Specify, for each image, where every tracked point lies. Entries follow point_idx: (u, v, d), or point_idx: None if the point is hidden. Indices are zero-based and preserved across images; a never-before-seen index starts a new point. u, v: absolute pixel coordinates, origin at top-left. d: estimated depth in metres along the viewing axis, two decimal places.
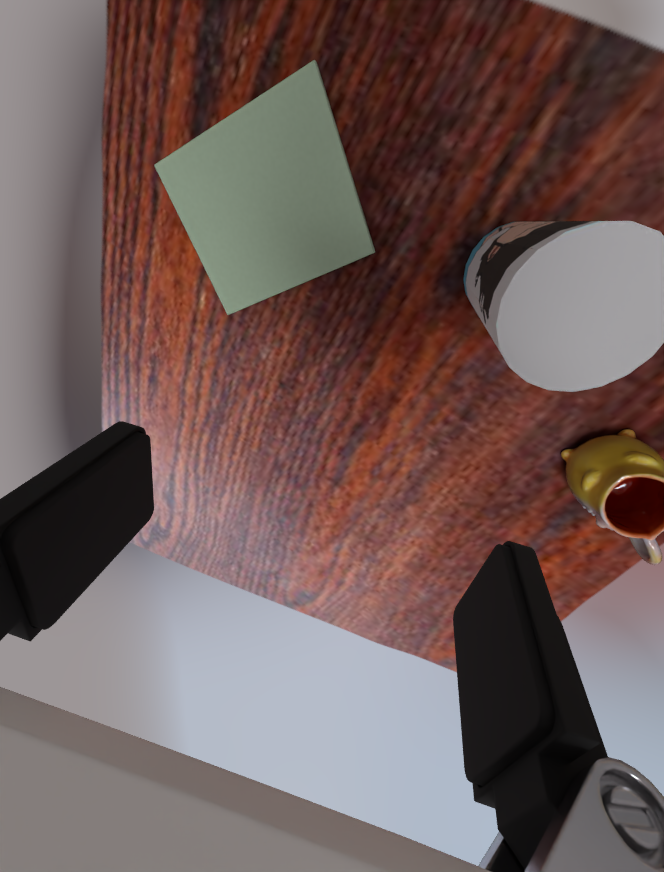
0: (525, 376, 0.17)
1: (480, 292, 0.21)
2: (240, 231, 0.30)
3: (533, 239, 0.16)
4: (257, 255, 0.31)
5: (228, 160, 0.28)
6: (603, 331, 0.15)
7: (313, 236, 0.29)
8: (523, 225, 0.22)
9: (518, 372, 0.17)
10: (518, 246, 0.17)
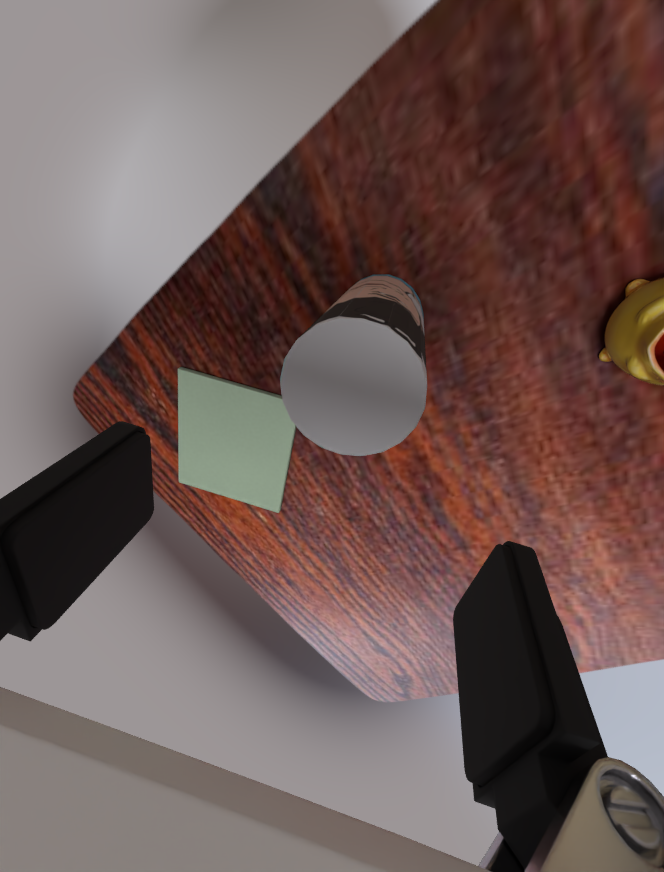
0: (377, 450, 0.18)
1: None
2: (236, 468, 0.40)
3: None
4: (255, 469, 0.39)
5: (197, 445, 0.39)
6: (373, 387, 0.17)
7: (265, 432, 0.37)
8: None
9: (370, 452, 0.18)
10: None
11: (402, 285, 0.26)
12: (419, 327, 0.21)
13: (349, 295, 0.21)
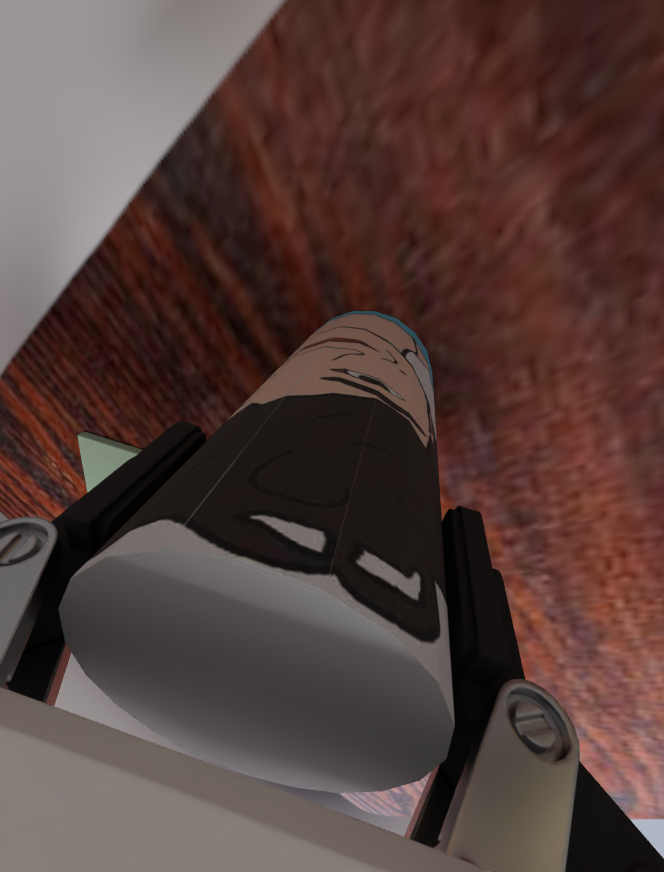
0: (324, 788, 0.07)
1: None
2: None
3: None
4: None
5: None
6: (300, 698, 0.06)
7: None
8: None
9: (309, 787, 0.08)
10: None
11: (397, 334, 0.15)
12: (428, 449, 0.10)
13: (288, 374, 0.11)
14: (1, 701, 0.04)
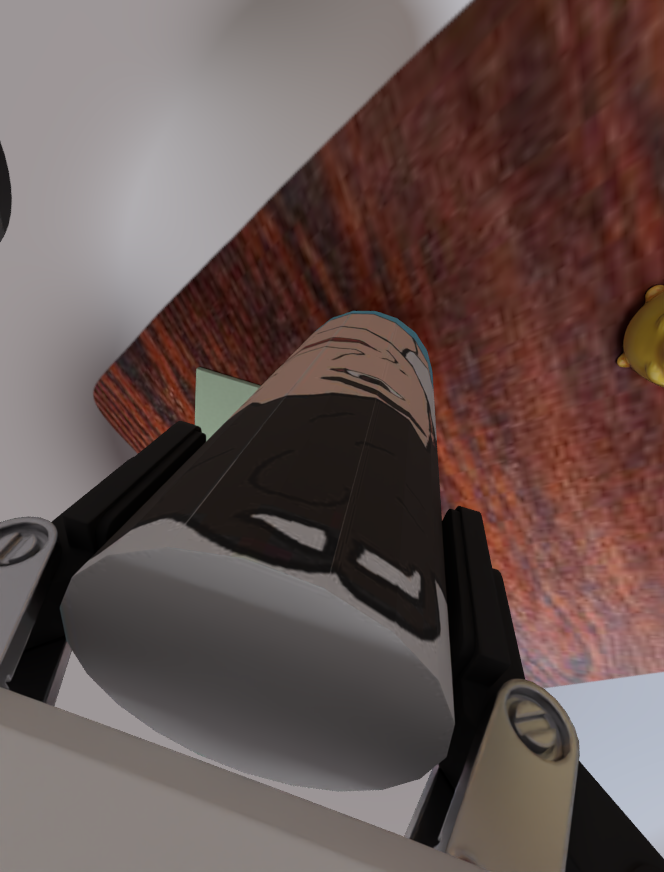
0: (325, 786, 0.07)
1: None
2: None
3: None
4: None
5: None
6: (301, 696, 0.06)
7: None
8: None
9: (310, 785, 0.08)
10: None
11: (398, 334, 0.15)
12: (428, 449, 0.10)
13: (288, 374, 0.11)
14: (1, 701, 0.04)
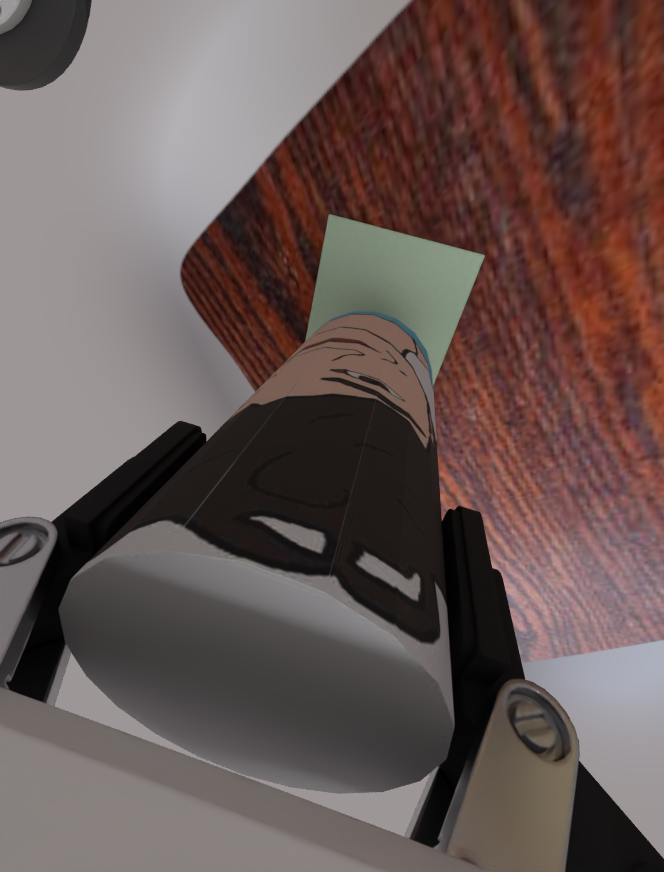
0: (324, 788, 0.07)
1: None
2: None
3: None
4: None
5: None
6: (300, 699, 0.06)
7: (428, 301, 0.30)
8: None
9: (309, 787, 0.08)
10: None
11: (397, 335, 0.15)
12: (428, 450, 0.10)
13: (288, 375, 0.11)
14: (1, 701, 0.04)
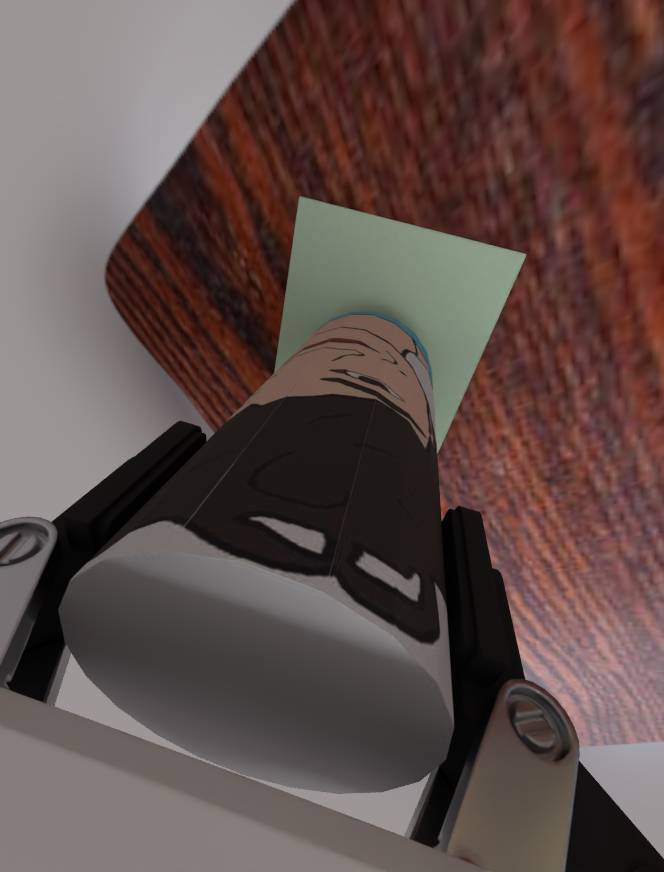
0: (324, 788, 0.07)
1: None
2: None
3: None
4: None
5: None
6: (300, 699, 0.06)
7: (442, 320, 0.21)
8: None
9: (309, 787, 0.08)
10: None
11: (397, 335, 0.15)
12: (428, 450, 0.10)
13: (288, 375, 0.11)
14: (1, 701, 0.04)
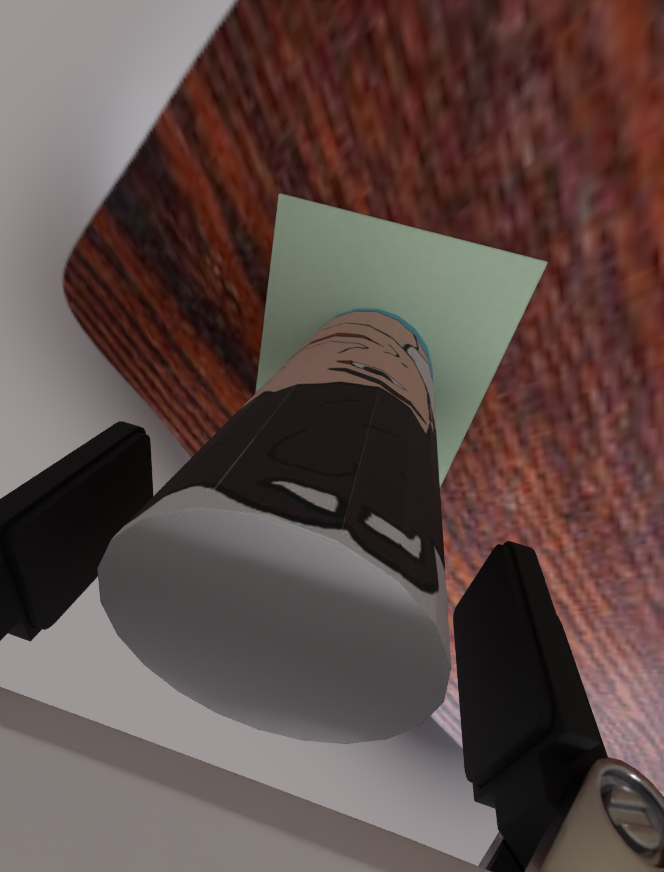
0: (333, 739, 0.08)
1: None
2: None
3: None
4: None
5: None
6: (313, 647, 0.07)
7: (447, 337, 0.18)
8: None
9: (319, 739, 0.08)
10: None
11: (399, 331, 0.16)
12: (428, 435, 0.11)
13: (297, 366, 0.11)
14: (1, 701, 0.04)
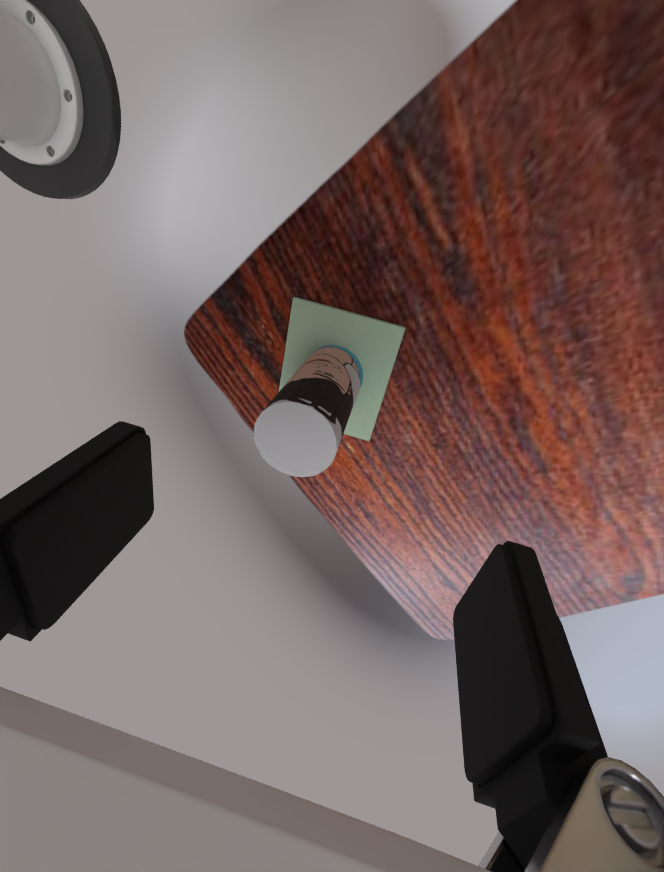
0: (312, 473, 0.30)
1: None
2: None
3: None
4: None
5: None
6: (306, 438, 0.29)
7: (368, 358, 0.40)
8: None
9: (308, 475, 0.30)
10: None
11: (344, 356, 0.38)
12: (344, 394, 0.33)
13: (301, 372, 0.34)
14: (1, 701, 0.04)
